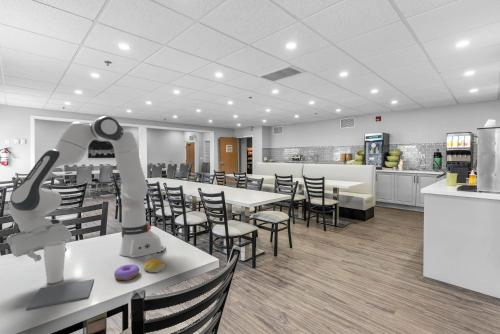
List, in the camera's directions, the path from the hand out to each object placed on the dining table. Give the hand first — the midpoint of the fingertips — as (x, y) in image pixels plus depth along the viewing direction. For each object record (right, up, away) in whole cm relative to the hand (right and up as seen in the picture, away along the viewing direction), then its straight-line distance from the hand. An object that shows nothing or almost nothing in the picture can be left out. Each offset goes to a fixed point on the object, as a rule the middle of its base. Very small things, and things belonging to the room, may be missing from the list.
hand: (52, 255), depth 101 cm
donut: (+28, -10, +4) cm, 30 cm away
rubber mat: (+12, -10, -10) cm, 18 cm away
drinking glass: (+1, -10, 0) cm, 10 cm away
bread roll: (+37, -10, +12) cm, 40 cm away
